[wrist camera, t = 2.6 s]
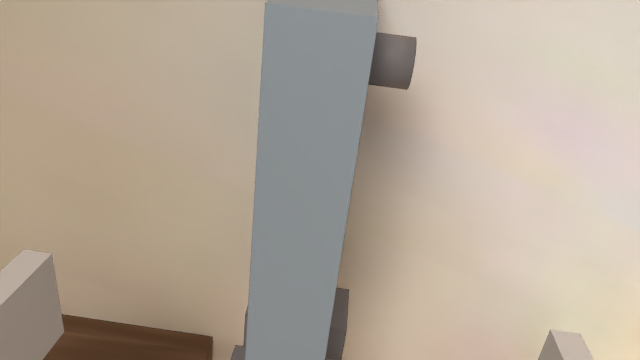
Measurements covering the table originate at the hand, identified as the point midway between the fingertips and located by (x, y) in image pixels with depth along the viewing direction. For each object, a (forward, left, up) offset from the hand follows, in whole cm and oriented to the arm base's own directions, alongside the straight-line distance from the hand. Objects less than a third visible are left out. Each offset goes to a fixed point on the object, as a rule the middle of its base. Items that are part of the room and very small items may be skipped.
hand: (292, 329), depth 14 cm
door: (+1, 0, -11) cm, 11 cm away
